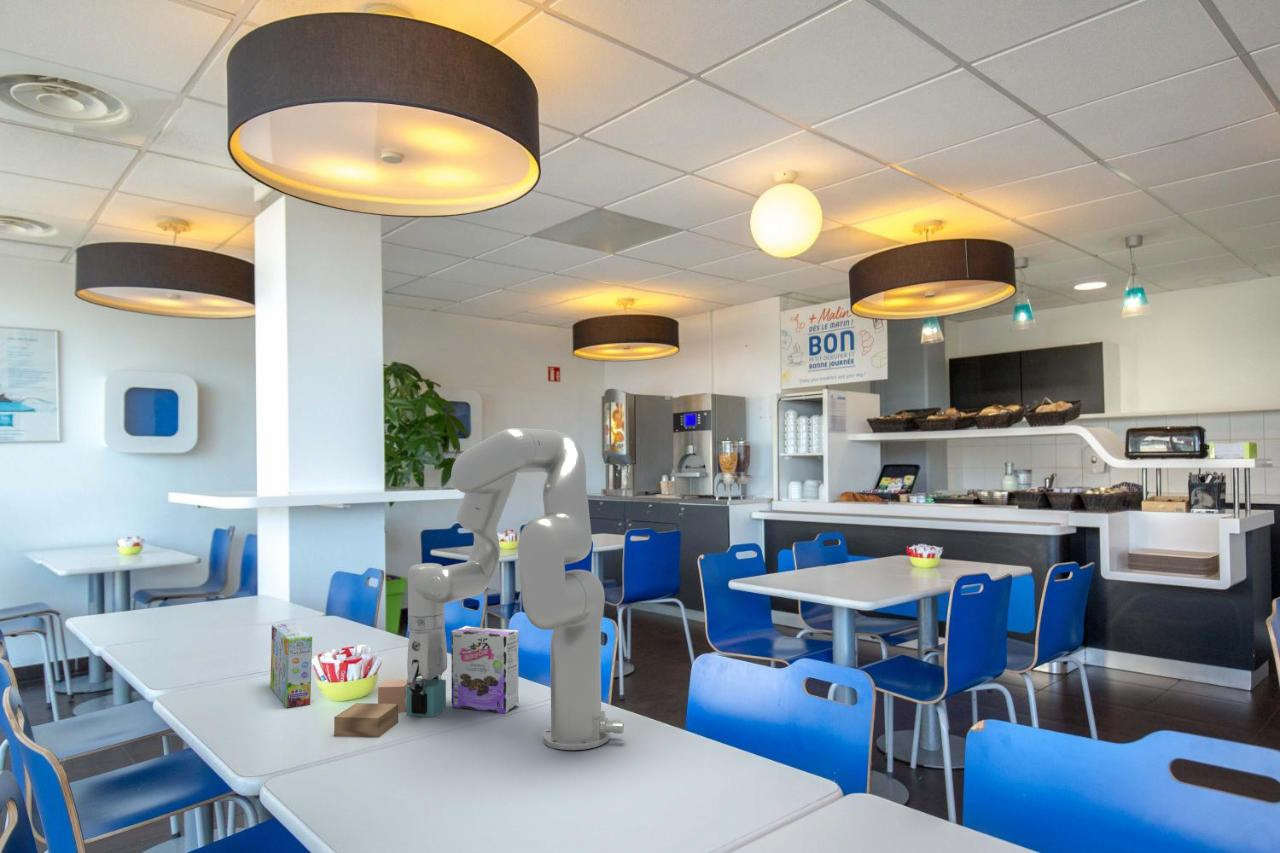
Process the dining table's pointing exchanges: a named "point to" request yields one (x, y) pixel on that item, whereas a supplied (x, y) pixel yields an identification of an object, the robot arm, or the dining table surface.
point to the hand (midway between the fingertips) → (426, 707)
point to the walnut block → (366, 720)
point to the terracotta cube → (393, 693)
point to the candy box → (485, 669)
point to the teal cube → (431, 698)
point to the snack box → (291, 664)
